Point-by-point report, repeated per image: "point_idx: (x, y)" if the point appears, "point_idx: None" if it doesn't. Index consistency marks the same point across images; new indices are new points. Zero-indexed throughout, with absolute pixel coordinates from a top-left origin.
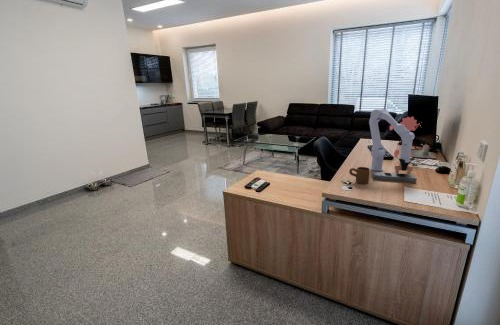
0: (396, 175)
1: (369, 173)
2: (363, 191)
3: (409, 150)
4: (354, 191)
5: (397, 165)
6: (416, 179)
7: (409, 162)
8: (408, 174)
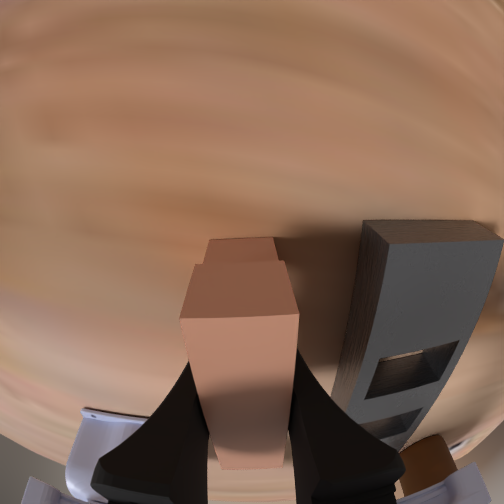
0: (415, 390)
1: (449, 472)
2: (490, 415)
3: None
4: (481, 428)
5: (268, 460)
6: (495, 235)
7: (403, 462)
8: (393, 305)
